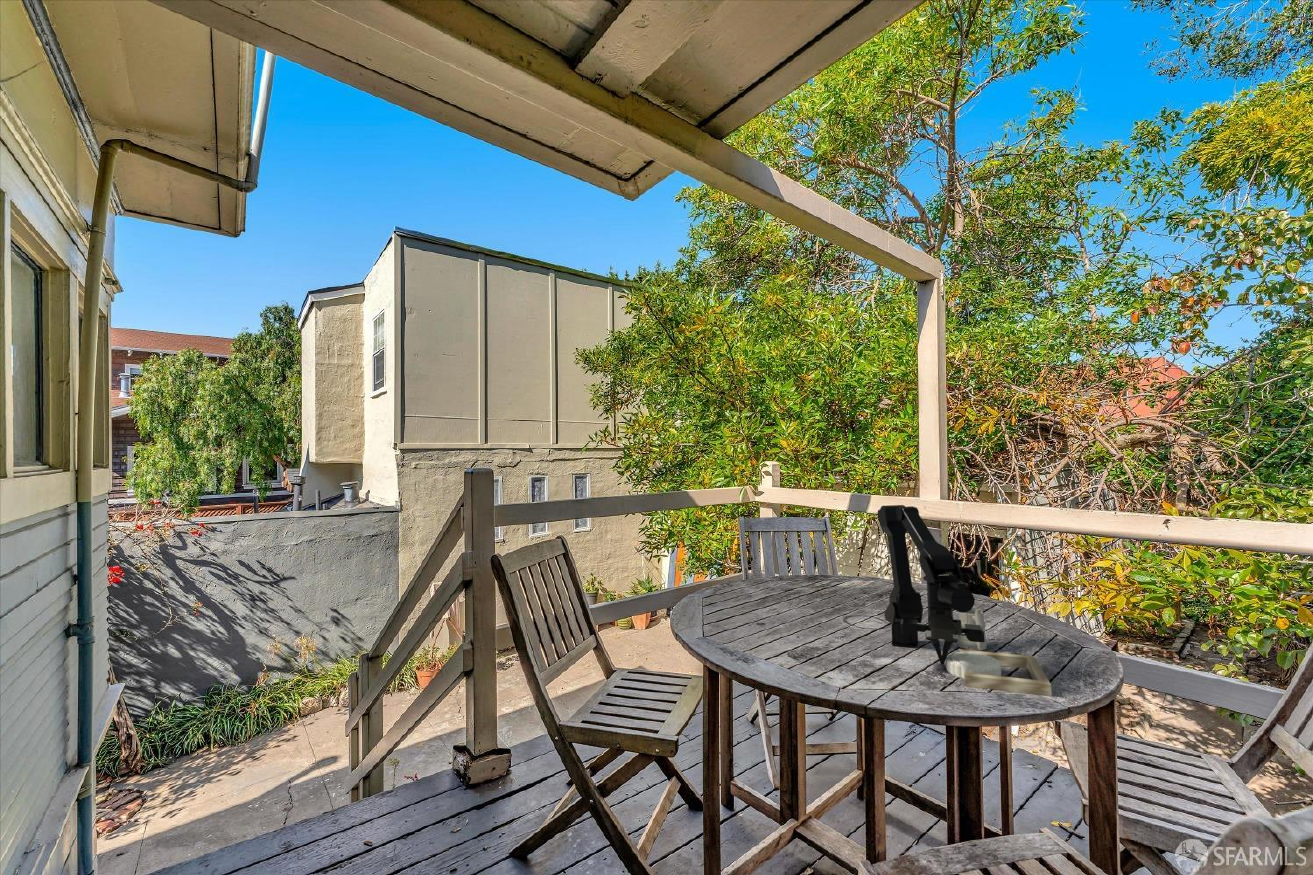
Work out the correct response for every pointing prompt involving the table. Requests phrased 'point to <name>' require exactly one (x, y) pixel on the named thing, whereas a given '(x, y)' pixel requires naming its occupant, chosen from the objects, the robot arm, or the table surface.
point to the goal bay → (1035, 686)
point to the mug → (977, 619)
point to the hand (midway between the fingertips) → (942, 664)
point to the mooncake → (972, 664)
